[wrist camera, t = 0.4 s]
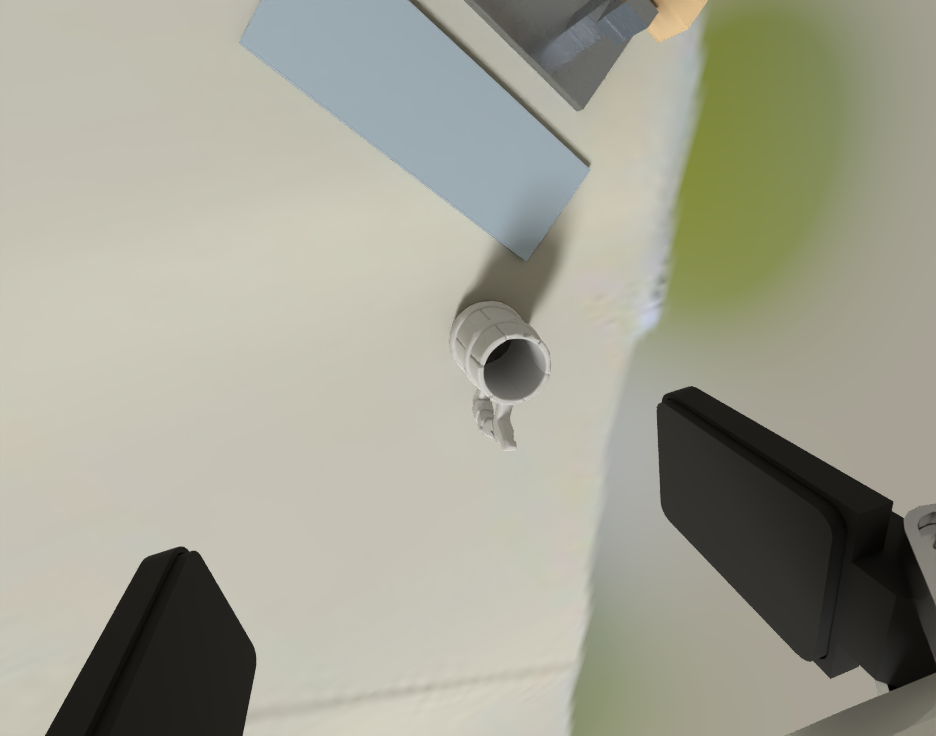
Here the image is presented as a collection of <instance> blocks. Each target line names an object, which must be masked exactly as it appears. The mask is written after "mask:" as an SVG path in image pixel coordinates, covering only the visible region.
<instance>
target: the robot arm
mask: <svg viewBox="0 0 936 736" xmlns="http://www.w3.org/2000/svg"><path fill="white" fill-rule="evenodd" d="M657 428H658V448H659V449H658V451H659V473H660V494H661V495H660V496H661V506H662V509H663V512H664V514H665V516H666V517H667V518H668V520H669V521H670V522H671V523H672V524H673V525H674V526H675V527H676V528H677V529H678V530H679V532H681V534H682V535H683V536H684V537H685V538H686V539H687V540H688V541H689V542H690V543H691V544H692V545H693V546H694V547H695V548H696V549H697V550H698V551H699V552H700V553H701V554H702V555H703V557H704V558H705V559H706V560H707V561H708V562H709V563H710V564H711V565H712V566H713V567H714V568H715V569H716V570H717V571H718V572H719V573H720V574H721V575H722V576H723V577H724V578H725V579H726V581H727V582H728V583H729V584H730V585H731V586H732V587H733V588H734V589H735V590H736V591H737V592H738V593H739V594H740V595H741V596H742V597H743V598H744V599H745V600H746V601H747V602H748V604H749V605H750V606H751V607H753V609H754V610H755V611H756V612H757V613H758V614H759V615H760V616H761V617H762V618H763V619H764V620H765V621H766V622H767V623H768V624H769V625H770V626H771V628H772V629H773V630H774V631H775V632H776V633H777V634H778V635H779V636H780V637H781V638H782V639H783V640H784V641H785V642H786V643H787V644H788V645H789V646H790V647H791V648H792V650H793V651H794V652H795V653H797V654H798V655H799V656H800V657H801V658H803V659H804V660H806V661H814V662H815V663H816V664H817V665H818V666H819V667H820V668H821V669H822V670H823V671H824V672H825V674H826V675H827V676H828V677H830V679H831V678H833V677H836V676H838V675H841V674H843V673H845V672H848V671H850V670H852V669H854V668H857V667H859V665H860V666H861V667H862V668H864V670H866V671H867V672H868V673H869V674H870V675H871V676H872V677H873V678H874V680H875V684H876V688H877V692H878V697H875V698H873V699H870V700H868V701H866V702H863V703H861V704H858V705H856V706H853V707H851V708H849V709H846V710H843V711H841V712H839V713H837V714H834V715H832V716H830V717H827V718H825V719H823V720H821V721H818V722H816V723H814V724H811V725H809V726H807V727H805V728H802V729H800V730H797V731H795V732H793V733H791V734H788V735H786V736H936V504H930V505H924V506H919V507H917V508H915V509H913V510H911V511H909V512H908V513H907V515H906V516H905V518H903V517H901V516H899V515H898V514H896V513H894V512H892V506H893V501H891V500H890V499H888V498H886V497H884V496H883V495H881V494H879V493H878V492H876V491H874V490H872V489H870V488H869V487H867V486H866V485H863V484H862V483H860V482H859V481H857V480H855V479H853V478H852V477H850V476H848V475H846V474H845V473H843V472H841V471H840V470H838V469H836V468H834V467H833V466H831V465H829V464H827V463H826V462H824V461H822V460H821V459H819V458H817V457H815V456H814V455H812V454H810V453H808V452H807V451H805V450H803V449H801V448H800V447H798V446H796V445H795V444H793V443H791V442H789V441H788V440H786V439H784V438H782V437H781V436H779V435H777V434H775V433H774V432H772V431H770V430H769V429H767V428H765V427H763V426H762V425H760V424H758V423H756V422H755V421H753V420H751V419H750V418H748V417H746V416H744V415H743V414H741V413H739V412H737V411H736V410H734V409H732V408H731V407H729V406H727V405H725V404H724V403H722V402H720V401H718V400H716V399H715V398H713V397H711V396H710V395H708V394H706V393H705V392H703V391H701V390H699V389H698V388H696V387H693V386H691V387H686V388H683V389H680V390H676V391H674V392H670V393H667V394H665V395H664V396H663V399H662V402H661V403H660V404H658V406H657ZM255 669H256V653H255V649H254V646H253V644H252V642H251V641H250V639H249V637H248V636H247V634H246V632H245V630H244V629H243V627H242V625H241V624H240V622H239V620H238V618H237V617H236V615H235V613H234V612H233V610H232V608H231V607H230V605H229V603H228V601H227V600H226V598H225V596H224V595H223V593H222V591H221V589H220V588H219V586H218V584H217V583H216V581H215V579H214V577H213V576H212V574H211V572H210V571H209V569H208V567H207V565H206V564H205V562H204V560H203V559H202V557H201V555H200V554H199V553H198V552H197V551H191V552H189V551H188V549H186V548H185V547H176V548H173V549H170V550H167V551H164V552H161V553H157V554H154V555H151V556H148V557H146V558H145V559H144V560H143V561H142V562H141V564H140V566H139V568H138V569H137V571H136V573H135V575H134V577H133V578H132V580H131V582H130V584H129V586H128V587H127V589H126V591H125V593H124V595H123V596H122V598H121V600H120V602H119V604H118V605H117V607H116V609H115V611H114V613H113V614H112V616H111V618H110V620H109V622H108V623H107V625H106V627H105V629H104V631H103V632H102V634H101V636H100V638H99V640H98V641H97V643H96V645H95V647H94V649H93V650H92V652H91V654H90V656H89V658H88V659H87V661H86V663H85V665H84V667H83V668H82V670H81V672H80V674H79V676H78V677H77V679H76V681H75V683H74V685H73V686H72V688H71V690H70V692H69V694H68V695H67V697H66V699H65V701H64V703H63V704H62V706H61V708H60V710H59V712H58V713H57V715H56V717H55V719H54V721H53V722H52V724H51V726H50V728H49V729H48V731H47V733H46V735H45V736H243V731H244V726H245V721H246V715H247V710H248V705H249V700H250V695H251V690H252V685H253V680H254V675H255Z"/></svg>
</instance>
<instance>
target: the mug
mask: <svg viewBox="0 0 936 736" xmlns="http://www.w3.org/2000/svg"><path fill="white" fill-rule="evenodd" d="M509 339H512V341H511V343H510V346H509V348H508V350H507V351H506V352H505V354H504V355H503V356H501V357H500V358H499V359H497V360H494V361H493V362H490V363H486V360H487V358H488V356H489V355H490V353H491V352H492V351H493V350H494V349H495V348H496V347H497V346H498V345H500V344H501V343H503V342H505V341H506V340H509ZM449 344H450V350H451V351H450V352H451V355H452V357H453V358H454V360H455V362H456V363H457V365H458V366H459V367H460V368H461V369H462V370H463V371H464V372H465V374H466V375H467V376H468V378H469V379H470V380H471V382H472V383H473V384H474V385H475V386H476V387H477V388H478V389H477V392H476V394H475V395H474V396H473V409H472V411H473V414H474V418H475V420H476V422H477V423H478V424H477V425H478V428H479V431H480V432H481V434H483V435H486V436H488V437H490V438H493V439H494V440H495V441H496V442H499V443H500V444H501V446H502V448H503V450H505V451H514V450H516V448H517V446H516V442H515V441H514V440H513V439H514V436H513V433H514V430H513V427H512V425H511V422H510V415H511V411H512V407H513V405H517V404H520V403H523V402H524V401H525V402H526V401H528V400H529V399H532V398H533V397H534V396H535V395H537V394H538V393H539V392H540V391H541V390H542V389H543V388H544V386H545V385H546V383H547V381H548V379H549V376H550V375H549V374H550V373H551V361H550V354H549V351H548V348H547V347H546V345H545V344H544V343H543V341H541V339H540V337H539V336H538V334H537V333H536V331H535V330H534V329H533V328H532V327H531V326H530V325H528V324H527V323H526V322H524V321H523V320H522V318H521V317H520V316H519V314H518V313H517V312H516V311H515V310H514V309H512V308H511V307H510V306H508V305H506V304H503V303H501V302H495V301H485V302H478V303H475V305H474V304H472V305H470V306H469V307H467V308H466V309H465V310H464V311H462V312H461V313H460V314H459V315H458V316H457V318H456V319H455V321H454V323H453V325H452V328H451V333H450V340H449ZM485 363H486V364H485ZM490 399H491V400H493V401H495V402H497V405H496V411H495V416H494V415H493V413H494V410H493V406H492V402H491V401H490Z"/></svg>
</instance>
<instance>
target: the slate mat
mask: <svg viewBox="0 0 936 736" xmlns="http://www.w3.org/2000/svg"><path fill="white" fill-rule="evenodd" d="M239 43H240V44H241V45H242V46H243V47H245V48H246V49H247V50H249V51H250V52H251V53H252V54H254V55H255V56H256V57H258V58H259V59H260V60H262V61H263V62H264V63H266V64H267V65H268V66H270V67H271V68H272V69H273V70H275V71H276V72H277V73H279V74H280V75H281V76H283V77H284V78H285V79H287V80H288V81H289V82H290V83H292V84H293V85H294V86H296V87H297V88H298V89H300V90H301V91H302V92H304V93H305V94H306V95H308V96H309V97H310V98H311V99H313V100H314V101H315V102H317V103H318V104H319V105H321V106H322V107H323V108H325V109H326V110H327V111H328V112H330V113H331V114H332V115H334V116H335V117H336V118H338V119H339V120H340V121H342V122H343V123H344V124H346V125H347V126H348V127H349V128H351V129H352V130H353V131H355V132H356V133H357V134H359V135H360V136H361V137H363V138H364V139H365V140H367V141H368V142H369V143H370V144H372V145H373V146H374V147H376V148H377V149H378V150H380V151H381V152H382V153H384V154H385V155H386V156H387V157H389V158H390V159H391V160H393V161H394V162H395V163H397V164H398V165H399V166H401V167H402V168H403V169H405V170H406V171H407V172H408V173H410V174H411V175H412V176H414V177H415V178H416V179H418V180H419V181H420V182H422V183H423V184H424V185H426V186H427V187H428V188H429V189H431V190H432V191H433V192H435V193H436V194H437V195H439V196H440V197H441V198H443V199H444V200H445V201H446V202H448V203H449V204H450V205H452V206H453V207H454V208H456V209H457V210H458V211H460V212H461V213H462V214H464V215H465V216H466V217H467V218H469V219H470V220H471V221H473V222H474V223H475V224H477V225H478V226H479V227H481V228H482V229H483V230H484V231H486V232H487V233H488V234H490V235H491V236H492V237H494V238H495V239H496V240H498V241H499V242H500V243H502V244H503V245H504V246H505V247H507V248H508V249H509V250H511V251H512V252H513V253H515V254H516V255H517V256H519V257H520V258H521V259H523V260H524V261H526V262H527V260H528V259H529V257H530V256H531V254H532V253H533V252H534V250H535V249H536V247H537V246H538V244H539V243H540V242H541V240H542V239H543V237H544V236H545V234H546V233H547V232H548V230H549V229H550V227H551V226H552V224H553V223H554V221H555V220H556V219H557V217H558V216H559V214H560V213H561V211H562V210H563V209H564V207H565V206H566V204H567V203H568V201H569V200H570V199H571V197H572V196H573V194H574V193H575V191H576V190H577V189H578V187H579V186H580V184H581V183H582V181H583V180H584V179H585V177H586V176H587V174H588V173H589V171H590V169H589V168H588V167H587V166H586V165H585V164H584V163H583V162H582V161H581V160H580V159H579V158H577V157H576V156H575V155H574V154H573V153H572V152H571V151H570V150H569V149H568V148H567V147H566V146H565V145H563V144H562V143H561V142H560V141H559V140H558V139H557V138H556V137H555V136H554V135H553V134H552V133H551V132H550V131H548V130H547V129H546V128H545V127H544V126H543V125H542V124H541V123H540V122H539V121H538V120H537V119H536V118H534V117H533V116H532V115H531V114H530V113H529V112H528V111H527V110H526V109H525V108H524V107H523V106H522V105H521V104H519V103H518V102H517V101H516V100H515V99H514V98H513V97H512V96H511V95H510V94H509V93H508V92H507V91H505V90H504V89H503V88H502V87H501V86H500V85H499V84H498V83H497V82H496V81H495V80H494V79H493V78H492V77H490V76H489V75H488V74H487V73H486V72H485V71H484V70H483V69H482V68H481V67H480V66H479V65H478V64H476V63H475V62H474V61H473V60H472V59H471V58H470V57H469V56H468V55H467V54H466V53H465V52H464V51H463V50H461V49H460V48H459V47H458V46H457V45H456V44H455V43H454V42H453V41H452V40H451V39H450V38H449V37H447V36H446V35H445V34H444V33H443V32H442V31H441V30H440V29H439V28H438V27H437V26H436V25H435V24H434V23H432V22H431V21H430V20H429V19H428V18H427V17H426V16H425V15H424V14H423V13H422V12H421V11H420V10H418V9H417V8H416V7H415V6H414V5H413V4H412V3H411V2H410V1H409V0H261V2H260V4H259V6H258V8H257V10H256V11H255V13H254V15H253V17H252V19H251V21H250V23H249V25H248V27H247V28H246V30H245V32H244V34H243V36H242V38H241V40H240V42H239Z"/></svg>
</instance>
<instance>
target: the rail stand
mask: <svg viewBox="0 0 936 736" xmlns="http://www.w3.org/2000/svg"><path fill="white" fill-rule="evenodd" d="M464 1H465V2H466V3H467V4H468V5H469V6H471V7H472V8H473V9H474V10H475V11H476V12H477V13H478V14H479V15H480V16H481V17H482V18H483V19H484V20H485V21H486V22H487V23H488V24H489V25H490V26H491V27H492V28H493V29H494V30H495V31H496V32H497V33H498V34H499V35H500V36H501V37H502V38H503V39H504V40H505V41H506V42H507V43H508V44H509V45H510V46H511V47H512V48H513V49H514V50H515V51H516V52H517V53H518V54H519V55H520V56H521V57H522V58H523V59H524V60H525V61H526V62H527V63H528V64H529V65H530V66H531V67H532V68H533V69H534V70H536V71H537V72H538V73H539V74H540V75H541V76H542V77H543V78H544V79H545V80H546V81H547V82H548V83H549V84H550V85H551V86H552V87H553V88H554V89H555V90H556V91H557V92H558V93H559V94H560V95H561V96H562V97H563V98H564V99H565V100H566V101H567V102H568V103H569V104H570V105H571V106H572V107H573V108H574V109H575V110H576V111H580V110H582V109H584V107H585V106H586V104H587V103H588V101H589V100H590V98H591V97H592V96H593V94H594V93H595V91H596V90H597V88H598V87H599V85H600V84H601V82H602V81H603V79H604V78H605V76H606V75H607V73H608V72H609V71H610V69H611V68H612V66H613V65H614V63H615V62H616V60H617V59H618V57H619V56H620V54H621V53H622V51H623V50H624V48H625V47H626V45H627V44H628V43H629V41H630V40H631V38H632V37H633V35H635V34H637V33H639V32H641V31H643V30H644V29H646V28H648V27H649V26H650V24H651V23H652V21H653V20H654V18H655V17H656V15H657V14H658V12H659V11H658V10H657V9H656V8H655V6H654V5H653V4H652V3H651V2H650V0H464Z"/></svg>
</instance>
